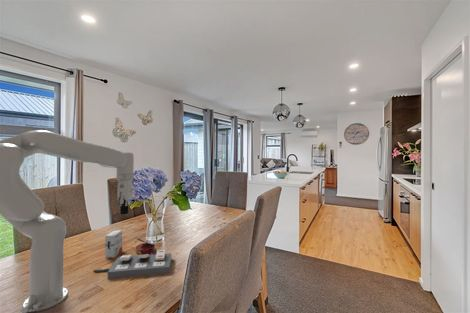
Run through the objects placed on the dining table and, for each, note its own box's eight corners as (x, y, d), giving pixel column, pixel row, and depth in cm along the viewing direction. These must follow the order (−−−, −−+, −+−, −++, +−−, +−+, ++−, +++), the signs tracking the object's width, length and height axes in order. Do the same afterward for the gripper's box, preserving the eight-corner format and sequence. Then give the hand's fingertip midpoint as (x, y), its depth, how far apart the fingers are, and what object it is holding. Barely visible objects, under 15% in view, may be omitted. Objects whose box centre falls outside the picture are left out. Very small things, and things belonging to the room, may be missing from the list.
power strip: (169, 273, 100) (169, 266, 100) (87, 280, 93) (87, 273, 93) (171, 258, 114) (171, 252, 114) (99, 264, 107) (100, 257, 107)
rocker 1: (128, 260, 102) (128, 257, 102) (119, 260, 101) (119, 257, 102) (131, 257, 108) (131, 254, 108) (122, 257, 107) (123, 254, 107)
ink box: (113, 250, 122) (114, 229, 122) (122, 250, 122) (122, 230, 122) (104, 257, 114) (104, 235, 114) (113, 258, 114) (114, 235, 114)
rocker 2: (146, 257, 104) (146, 254, 104) (137, 258, 103) (137, 255, 103) (148, 256, 109) (148, 254, 110) (140, 257, 109) (140, 254, 109)
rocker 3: (164, 259, 106) (164, 257, 106) (155, 260, 105) (155, 258, 105) (165, 251, 112) (165, 249, 111) (157, 252, 111) (157, 250, 110)
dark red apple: (137, 258, 124) (136, 240, 128) (155, 254, 127) (154, 236, 131) (134, 257, 114) (133, 237, 118) (155, 252, 118) (153, 233, 122)
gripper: (129, 178, 101) (128, 217, 102) (136, 175, 116) (135, 209, 116) (111, 178, 100) (110, 218, 100) (121, 175, 114) (120, 210, 115)
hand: (124, 213), depth 108 cm, fingers closed
